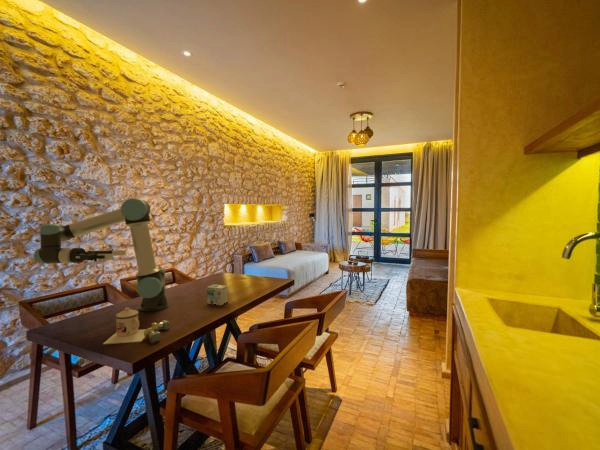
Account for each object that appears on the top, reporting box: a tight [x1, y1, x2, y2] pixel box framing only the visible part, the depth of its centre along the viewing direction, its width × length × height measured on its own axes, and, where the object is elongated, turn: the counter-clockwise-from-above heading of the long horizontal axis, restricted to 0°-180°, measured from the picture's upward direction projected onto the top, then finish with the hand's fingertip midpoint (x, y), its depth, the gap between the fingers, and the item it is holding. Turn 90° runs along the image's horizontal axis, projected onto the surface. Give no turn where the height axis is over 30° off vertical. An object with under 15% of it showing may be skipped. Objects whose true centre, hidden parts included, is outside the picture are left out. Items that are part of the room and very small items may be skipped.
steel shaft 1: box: [144, 327, 161, 344], centre depth 123 cm, size 7×4×5 cm, turn 54°
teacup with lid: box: [115, 307, 140, 336], centre depth 129 cm, size 12×9×12 cm
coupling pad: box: [102, 328, 147, 345], centre depth 127 cm, size 13×15×1 cm
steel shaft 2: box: [150, 319, 170, 332], centre depth 134 cm, size 7×4×5 cm, turn 144°
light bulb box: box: [206, 284, 228, 306], centre depth 175 cm, size 11×7×11 cm, turn 71°
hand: (119, 254), depth 142 cm, fingers open, 13 cm apart
